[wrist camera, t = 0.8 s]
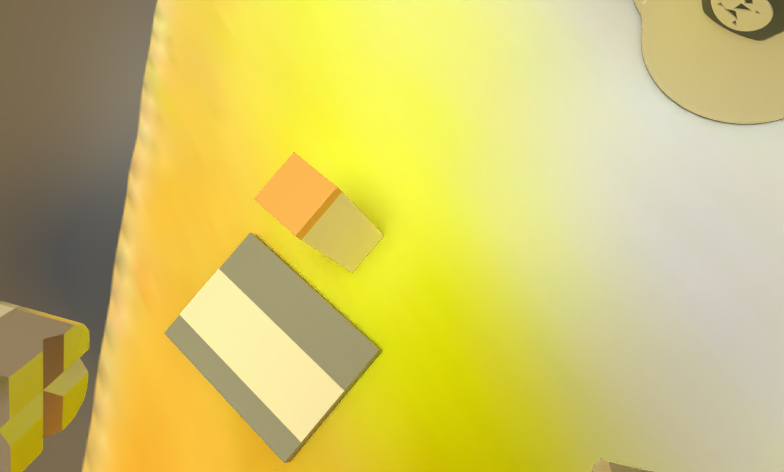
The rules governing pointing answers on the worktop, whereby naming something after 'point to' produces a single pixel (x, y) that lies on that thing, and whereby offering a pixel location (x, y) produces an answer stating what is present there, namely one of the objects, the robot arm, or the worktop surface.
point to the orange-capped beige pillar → (319, 213)
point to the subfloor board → (271, 346)
